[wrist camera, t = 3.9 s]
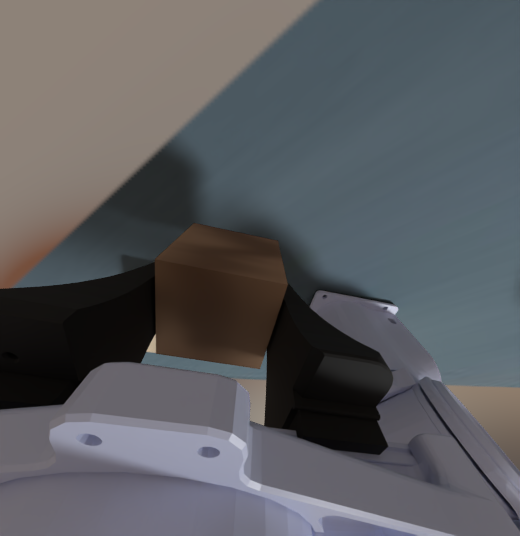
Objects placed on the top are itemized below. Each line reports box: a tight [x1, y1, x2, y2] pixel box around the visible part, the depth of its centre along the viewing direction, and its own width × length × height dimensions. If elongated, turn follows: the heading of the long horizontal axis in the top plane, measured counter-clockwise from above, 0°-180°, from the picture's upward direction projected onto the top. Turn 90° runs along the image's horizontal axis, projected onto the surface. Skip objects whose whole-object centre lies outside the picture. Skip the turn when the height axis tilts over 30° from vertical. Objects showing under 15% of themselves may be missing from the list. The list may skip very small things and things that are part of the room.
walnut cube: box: [155, 223, 288, 369], centre depth 11 cm, size 5×5×5 cm
